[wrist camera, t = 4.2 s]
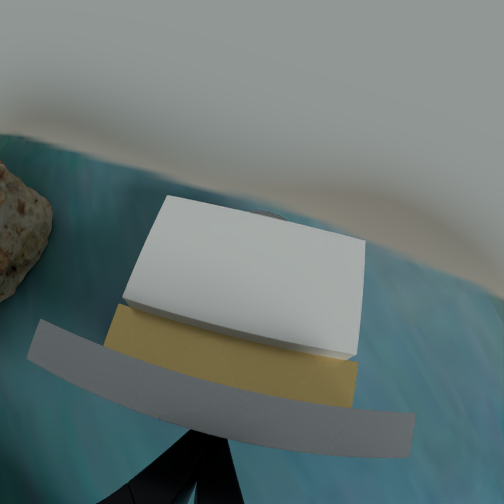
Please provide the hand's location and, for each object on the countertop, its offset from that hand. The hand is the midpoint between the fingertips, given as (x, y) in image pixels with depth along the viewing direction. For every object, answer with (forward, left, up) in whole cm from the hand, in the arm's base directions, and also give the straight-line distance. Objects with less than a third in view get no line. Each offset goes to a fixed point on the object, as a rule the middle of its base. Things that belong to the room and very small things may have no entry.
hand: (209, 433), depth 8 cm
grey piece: (+2, +5, -6) cm, 8 cm away
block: (+2, +5, -7) cm, 9 cm away
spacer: (+1, +2, -7) cm, 7 cm away
